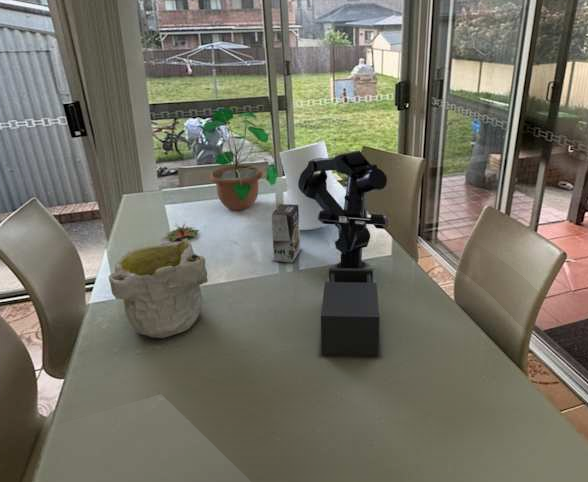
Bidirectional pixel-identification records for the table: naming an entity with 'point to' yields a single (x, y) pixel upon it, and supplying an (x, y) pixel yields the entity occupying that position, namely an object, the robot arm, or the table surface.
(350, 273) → the dark grey boxy piece
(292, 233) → the coffee box
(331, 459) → the table surface
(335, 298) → the dark grey rectangular box
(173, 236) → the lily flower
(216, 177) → the potted plant
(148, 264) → the ceramic vessel
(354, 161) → the robot arm
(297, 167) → the cylinder
